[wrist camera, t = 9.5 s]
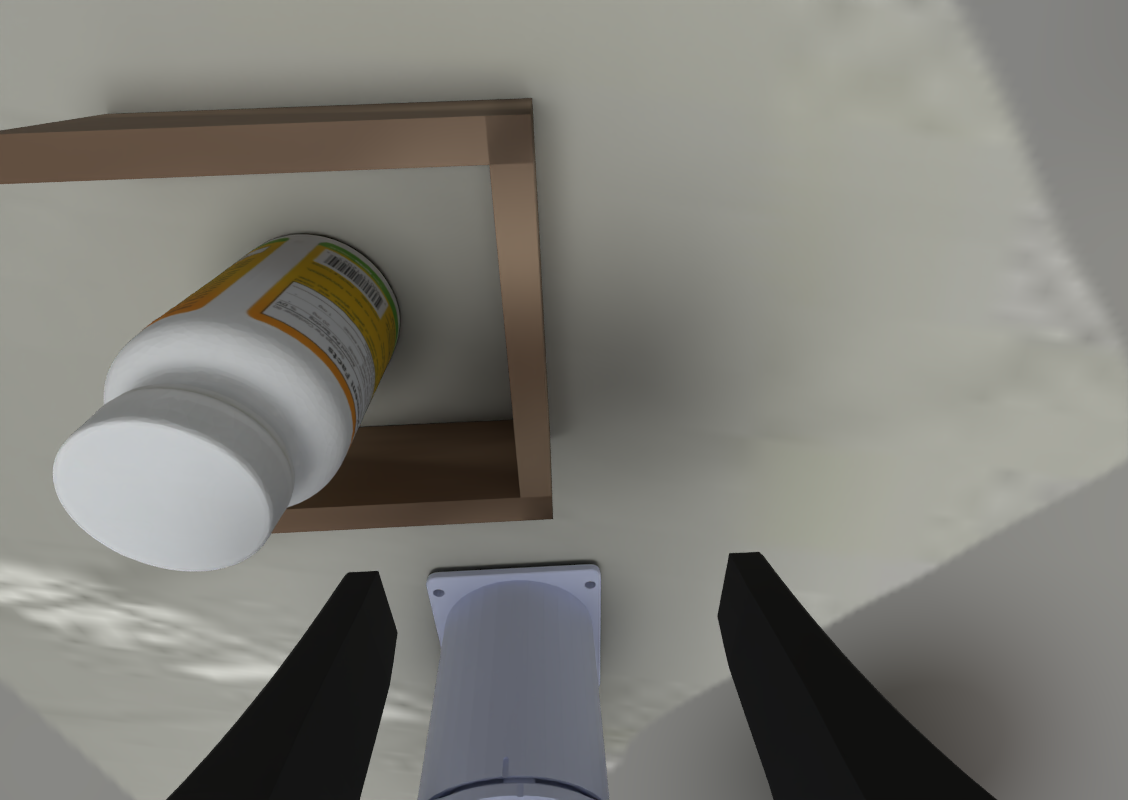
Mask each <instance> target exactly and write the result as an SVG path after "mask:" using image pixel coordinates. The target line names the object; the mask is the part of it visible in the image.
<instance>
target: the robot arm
mask: <svg viewBox="0 0 1128 800" xmlns="http://www.w3.org/2000/svg"><path fill="white" fill-rule="evenodd" d="M588 581H592V582H588ZM426 586H427V590H428V595H429V599H430V603H431V607H432V612H433V616H434V620H435V624H436V629H437V633H438V637H439V641H440V646H441V654H440V660H439V667H438V673H437V679H436V686H435V692H434V698H433V705H432V711H431V717H430V724H429V730H428V736H427V743H426V749H425V755H424V762H423V768H422V774H421V780H420V787H419V793H418V799H417V800H609V791H608V780H607V770H606V759H605V749H604V739H603V728H602V718H601V708H600V697H599V686H600V632H601V573H600V569H599V567H598V566H596V565H593V564H582V565H563V566H544V567H526V568H507V569H488V570H469V571H450V572H435V573H432V574H430V575H429V576H428V578H427V583H426ZM438 589H440V590H438ZM718 621H719V625H720V630H721V635H722V639H723V644H724V648H725V652H726V657H727V661H728V665H729V669H730V672H731V675H732V678H733V681H734V683H735V686H736V689H737V692H738V695H739V698H740V701H741V704H742V707H743V710H744V713H745V716H746V719H747V722H748V724H749V727H750V730H751V733H752V736H753V739H754V742H755V745H756V748H757V751H758V753H759V756H760V759H761V762H762V765H763V768H764V771H765V774H766V777H767V780H768V783H769V786H770V789H771V793H772V796H773V799H774V800H997V799H995V798H994V797H993V796H992V795H991V794H990V793H988V792H987V791H986V790H985V789H984V788H982V787H981V786H980V785H979V784H977V783H976V782H975V781H974V780H973V779H971V778H970V777H969V776H968V775H967V774H965V773H964V772H963V771H962V770H961V769H960V768H959V767H958V766H957V765H955V764H954V763H953V762H952V761H951V760H950V759H949V758H948V757H946V756H945V755H944V754H943V753H942V752H941V751H940V750H939V749H937V747H935V746H934V745H933V744H932V743H931V742H930V741H929V740H928V739H927V738H926V737H925V736H924V735H923V734H921V733H920V732H919V731H918V730H917V729H916V728H915V727H914V726H913V725H912V724H911V723H910V722H909V721H908V720H907V719H906V718H905V717H904V716H903V715H902V714H901V713H900V712H898V711H897V709H895V708H894V707H893V706H892V704H891V703H890V702H889V701H888V700H886V699H885V697H883V695H882V694H881V693H880V692H879V691H878V690H877V689H876V688H875V687H874V686H873V685H872V684H871V683H870V682H869V681H868V680H867V679H866V678H865V677H864V675H863V674H861V673H860V671H859V670H858V669H857V668H856V667H855V666H854V665H853V664H852V663H851V662H850V660H848V658H847V657H846V656H845V655H844V654H843V653H842V652H841V650H840V649H839V648H838V647H837V646H836V645H835V643H834V642H833V641H832V640H831V639H830V638H829V637H828V636H827V634H826V633H825V632H824V631H823V630H822V629H821V627H820V626H819V625H818V624H817V623H816V622H815V620H814V619H813V618H812V617H811V616H810V614H809V613H808V612H807V611H806V610H805V608H804V607H803V606H802V605H801V603H800V602H799V601H798V600H797V598H796V597H795V596H794V595H793V594H792V592H791V591H790V590H789V589H788V587H787V586H786V585H785V583H784V582H783V581H782V580H781V578H780V577H779V576H778V574H777V573H776V572H775V571H774V569H773V568H772V567H771V565H770V564H769V563H768V561H767V560H766V559H765V558H764V556H763V555H762V554H761V553H760V552H748V553H729V558H728V563H727V569H726V574H725V579H724V584H723V590H722V595H721V600H720V605H719V611H718ZM396 640H397V629H396V626H395V623H394V620H393V617H392V613H391V610H390V607H389V604H388V601H387V597H386V594H385V591H384V588H383V585H382V581H381V578H380V575H379V572H378V571H368V572H349V573H347V574H346V575H345V576H344V578H343V579H342V580H341V582H340V583H339V585H338V586H337V588H336V589H335V591H334V592H333V594H332V595H331V597H330V598H329V600H328V601H327V603H326V604H325V605H324V607H323V608H322V610H321V611H320V613H319V614H318V616H317V617H316V618H315V620H314V621H313V623H312V624H311V626H310V627H309V628H308V630H307V631H306V633H305V634H304V635H303V637H302V638H301V640H300V641H299V642H298V644H297V645H296V646H295V648H294V649H293V650H292V652H291V653H290V654H289V656H288V657H287V658H286V660H285V661H284V662H283V664H282V665H281V666H280V668H279V669H278V670H277V672H276V673H275V674H274V676H273V677H272V678H271V680H270V681H269V682H268V683H267V685H266V686H265V687H264V688H263V690H262V691H261V692H260V693H259V695H258V696H257V697H256V698H255V700H254V701H253V702H252V703H251V705H250V706H249V707H248V708H247V709H246V711H245V712H244V713H243V714H242V716H241V717H240V718H239V719H238V721H237V722H236V723H235V724H234V725H233V727H232V728H231V729H230V730H229V731H228V732H227V734H226V735H225V736H224V737H223V738H222V739H221V741H220V742H219V743H218V744H217V745H216V746H215V747H214V749H213V750H212V751H211V752H210V753H209V754H208V755H207V757H206V758H205V759H204V760H203V761H202V762H201V763H200V764H199V765H198V766H197V767H196V769H195V770H194V771H193V772H192V773H191V774H190V775H189V776H188V777H187V778H186V780H185V781H184V782H183V783H182V784H181V785H180V786H179V787H178V788H177V789H176V790H175V791H174V792H173V793H172V794H171V795H170V796H169V797H168V798H167V799H166V800H360V796H361V793H362V789H363V785H364V781H365V778H366V774H367V770H368V766H369V762H370V759H371V755H372V751H373V747H374V744H375V740H376V736H377V732H378V728H379V725H380V721H381V717H382V713H383V709H384V705H385V702H386V698H387V694H388V690H389V686H390V680H391V674H392V668H393V661H394V654H395V647H396Z"/></svg>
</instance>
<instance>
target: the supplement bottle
mask: <svg viewBox="0 0 1128 800" xmlns="http://www.w3.org/2000/svg"><path fill="white" fill-rule="evenodd" d="M399 329H400V315H399V309H398V305H397V302H396V299H395V296H394V294H393V291H392V289H391V288H390V286H389V284H388V282H387V281H386V279H385V278H384V276H383V275H382V274H381V272H380V271H379V270H378V269H377V268H376V267H375V266H374V265H373V264H372V263H371V262H370V261H369V260H368V259H367V258H365V257H364V256H363V255H362V254H360V253H359V252H357V251H356V250H354V249H352V248H351V247H349V246H347V245H345V244H343V243H341V242H338V241H336V240H333V239H330V238H326V237H322V236H317V235H309V234H296V235H288V236H283V237H279V238H276V239H273V240H270V241H268V242H266V243H264V244H262V245H260V246H259V247H257V248H256V249H254V250H252V251H251V252H250V253H248V254H247V255H245V256H244V257H243V258H241V259H240V260H239V261H237V262H236V263H235V264H233V265H232V266H231V267H229V268H228V269H227V270H225V271H224V272H222V273H221V274H220V275H218V276H217V277H216V278H214V279H213V280H212V281H210V282H209V283H207V284H206V285H205V286H203V287H202V288H200V289H199V290H198V291H196V292H195V293H193V294H192V295H190V296H189V297H188V298H186V299H185V300H184V301H182V302H181V303H179V304H178V305H177V306H175V307H174V308H172V309H170V310H169V311H168V312H167V313H165V314H164V315H162V316H161V317H160V318H158V319H156V320H155V321H153V322H152V323H151V324H150V325H148V326H147V327H146V328H144V329H143V330H142V331H141V332H140V333H139V334H138V335H136V336H135V337H134V338H133V339H132V340H130V341H129V342H128V343H127V344H126V345H125V346H124V347H123V348H122V349H121V351H120V352H119V353H118V355H117V356H116V358H115V359H114V361H113V362H112V364H111V366H110V369H109V371H108V373H107V377H106V380H105V387H104V406H102V407H101V408H100V409H99V410H98V411H97V412H96V413H95V414H94V415H93V416H92V417H91V418H90V419H89V420H87V421H86V422H85V423H84V424H83V425H82V426H81V427H79V428H78V429H77V430H76V431H75V432H74V433H73V434H71V435H70V437H69V438H68V439H67V440H66V441H65V442H64V443H63V445H62V446H61V447H60V449H59V451H58V453H57V456H56V458H55V461H54V466H53V482H54V486H55V490H56V493H57V496H58V498H59V500H60V502H61V503H62V505H63V507H64V508H65V510H66V511H67V513H68V514H69V515H70V517H71V518H72V519H73V520H74V521H75V522H76V523H77V524H78V525H79V526H80V527H81V528H82V529H83V530H84V531H85V532H87V533H88V534H89V535H90V536H92V537H93V538H94V539H96V540H97V541H99V542H100V543H102V544H104V545H105V546H107V547H108V548H110V549H112V550H113V551H115V552H117V553H119V554H121V555H124V556H126V557H129V558H131V559H134V560H137V561H139V562H142V563H145V564H149V565H152V566H155V567H160V568H165V569H170V570H178V571H212V570H216V569H221V568H226V567H229V566H232V565H235V564H238V563H240V562H242V561H244V560H246V559H247V558H249V557H251V556H252V555H253V554H255V553H256V552H257V551H258V550H259V549H260V548H261V547H262V546H263V545H264V544H265V542H266V541H267V539H268V538H269V536H270V535H271V533H272V531H273V529H274V528H275V526H276V524H277V523H278V521H279V520H280V518H281V516H282V515H283V513H284V512H285V510H286V508H287V507H290V506H293V505H296V504H298V503H301V502H303V501H305V500H306V499H308V498H310V497H312V496H313V495H315V494H316V493H317V492H319V491H320V490H321V489H322V488H324V487H325V486H326V485H327V484H328V483H329V482H330V480H331V479H332V478H333V477H334V475H335V474H336V473H337V471H338V469H339V468H340V466H341V464H342V462H343V460H344V458H345V456H346V454H347V452H348V450H349V448H350V446H351V444H352V441H353V439H354V437H355V434H356V432H357V430H358V428H359V426H360V423H361V421H362V419H363V417H364V414H365V412H366V410H367V408H368V406H369V404H370V402H371V399H372V397H373V395H374V393H375V391H376V389H377V387H378V384H379V382H380V380H381V378H382V376H383V373H384V371H385V369H386V367H387V365H388V363H389V361H390V359H391V356H392V354H393V352H394V349H395V346H396V343H397V340H398V336H399Z"/></svg>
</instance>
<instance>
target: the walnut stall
mask: <svg viewBox="0 0 1128 800" xmlns="http://www.w3.org/2000/svg"><path fill="white" fill-rule="evenodd" d="M472 165H489V166H490V176H491V187H492V198H493V208H494V219H495V230H496V241H497V251H498V262H499V273H500V283H501V294H502V305H503V316H504V326H505V337H506V348H507V358H508V369H509V380H510V390H511V401H512V412H513V420H501V421H480V422H459V423H438V424H417V425H396V426H375V427H359V428H358V430H357V432H356V434H355V437H354V439H353V441H352V444H351V446H350V448H349V450H348V452H347V454H346V456H345V458H344V460H343V462H342V464H341V466H340V468H339V469H338V471H337V473H336V474H335V475H334V477H333V478H332V479H331V480H330V482H329V483H328V484H327V485H326V486H325V487H324V488H322V489H321V490H320V491H319V492H317V493H316V494H315V495H313V496H312V497H310V498H308V499H306V500H305V501H303V502H301V503H298V504H296V505H293V506H290V507H287V508H286V510H285V512H284V513H283V515H282V516H281V518H280V520H279V521H278V523H277V524H276V526H275V528H274V529H273V531H272V533H290V532H309V531H329V530H348V529H368V528H387V527H407V526H426V525H446V524H465V523H485V522H504V521H523V520H543V519H553V507H552V478H551V449H550V427H549V408H548V389H547V370H546V351H545V332H544V314H543V295H542V276H541V257H540V238H539V219H538V201H537V182H536V163H535V144H534V125H533V106H532V98H524V99H497V100H471V101H444V102H417V103H390V104H363V105H336V106H309V107H283V108H256V109H229V110H202V111H175V112H148V113H121V114H103V115H97V116H91V117H84V118H78V119H71V120H65V121H59V122H52V123H46V124H40V125H33V126H27V127H21V128H14V129H8V130H1V131H0V184H15V183H41V182H66V181H91V180H117V179H142V178H168V177H193V176H218V175H244V174H269V173H294V172H320V171H345V170H371V169H396V168H421V167H447V166H472Z"/></svg>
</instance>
